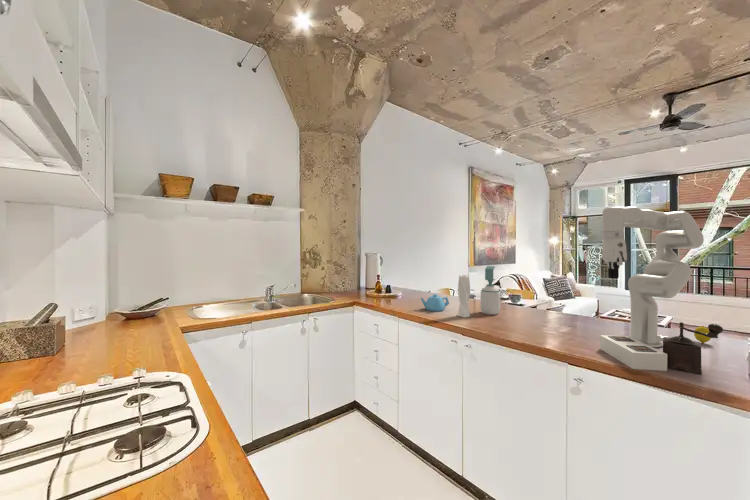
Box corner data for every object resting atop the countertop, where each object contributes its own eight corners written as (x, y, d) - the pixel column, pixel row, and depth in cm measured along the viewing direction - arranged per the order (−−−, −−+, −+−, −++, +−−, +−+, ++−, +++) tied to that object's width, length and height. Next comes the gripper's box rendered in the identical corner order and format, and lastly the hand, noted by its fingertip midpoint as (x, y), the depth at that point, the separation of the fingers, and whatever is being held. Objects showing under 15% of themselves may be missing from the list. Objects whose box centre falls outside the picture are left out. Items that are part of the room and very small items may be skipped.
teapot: (437, 313, 215) (437, 296, 215) (419, 309, 226) (419, 294, 226) (450, 309, 226) (450, 294, 226) (432, 306, 237) (432, 292, 237)
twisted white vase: (473, 317, 202) (474, 272, 202) (465, 318, 198) (465, 273, 197) (463, 314, 209) (463, 271, 209) (454, 316, 205) (454, 272, 204)
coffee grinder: (661, 367, 119) (662, 319, 119) (662, 359, 127) (662, 314, 127) (723, 379, 108) (724, 326, 108) (719, 370, 117) (720, 320, 116)
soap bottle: (502, 312, 215) (502, 266, 215) (498, 316, 205) (498, 267, 204) (483, 310, 222) (483, 265, 222) (478, 314, 212) (478, 266, 211)
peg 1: (623, 350, 136) (623, 337, 136) (629, 354, 132) (629, 340, 132) (612, 350, 137) (612, 336, 137) (618, 353, 133) (618, 339, 133)
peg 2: (643, 361, 123) (643, 346, 123) (651, 365, 119) (651, 350, 119) (631, 361, 124) (631, 346, 124) (638, 365, 120) (638, 349, 120)
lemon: (708, 345, 144) (708, 327, 144) (691, 342, 149) (692, 325, 149) (713, 344, 147) (713, 326, 147) (696, 340, 152) (697, 323, 152)
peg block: (628, 350, 138) (628, 335, 138) (667, 370, 116) (667, 353, 116) (600, 348, 140) (600, 334, 140) (632, 368, 118) (633, 351, 118)
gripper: (634, 235, 132) (634, 279, 132) (612, 235, 147) (612, 276, 147) (614, 235, 133) (614, 280, 133) (594, 236, 148) (594, 276, 148)
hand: (613, 277), depth 140 cm, fingers closed
